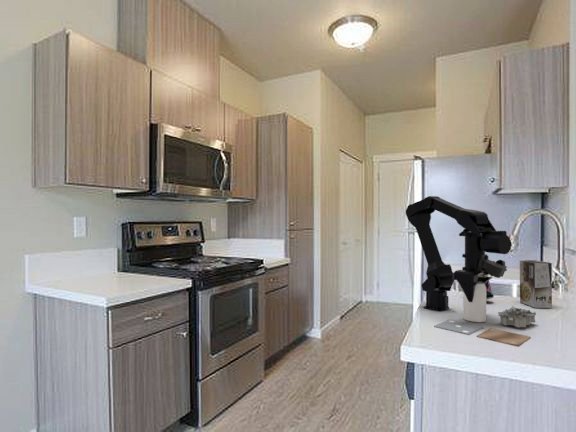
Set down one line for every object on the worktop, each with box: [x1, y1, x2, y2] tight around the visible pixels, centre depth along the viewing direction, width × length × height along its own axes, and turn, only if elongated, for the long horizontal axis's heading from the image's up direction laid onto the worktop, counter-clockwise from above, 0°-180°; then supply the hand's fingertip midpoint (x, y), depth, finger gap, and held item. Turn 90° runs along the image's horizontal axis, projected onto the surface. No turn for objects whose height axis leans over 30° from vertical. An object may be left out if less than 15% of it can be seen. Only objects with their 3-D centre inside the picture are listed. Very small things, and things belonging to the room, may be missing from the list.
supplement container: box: [485, 280, 495, 301], centre depth 142 cm, size 7×7×10 cm
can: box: [462, 282, 487, 324], centre depth 116 cm, size 6×6×12 cm
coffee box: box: [519, 259, 553, 309], centre depth 135 cm, size 9×6×16 cm
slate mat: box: [433, 319, 484, 336], centre depth 108 cm, size 10×10×1 cm
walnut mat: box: [476, 327, 532, 348], centre depth 99 cm, size 10×10×1 cm
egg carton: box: [498, 306, 537, 328], centre depth 111 cm, size 11×8×4 cm
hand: (474, 300), depth 116 cm, fingers closed on can, 6 cm apart
